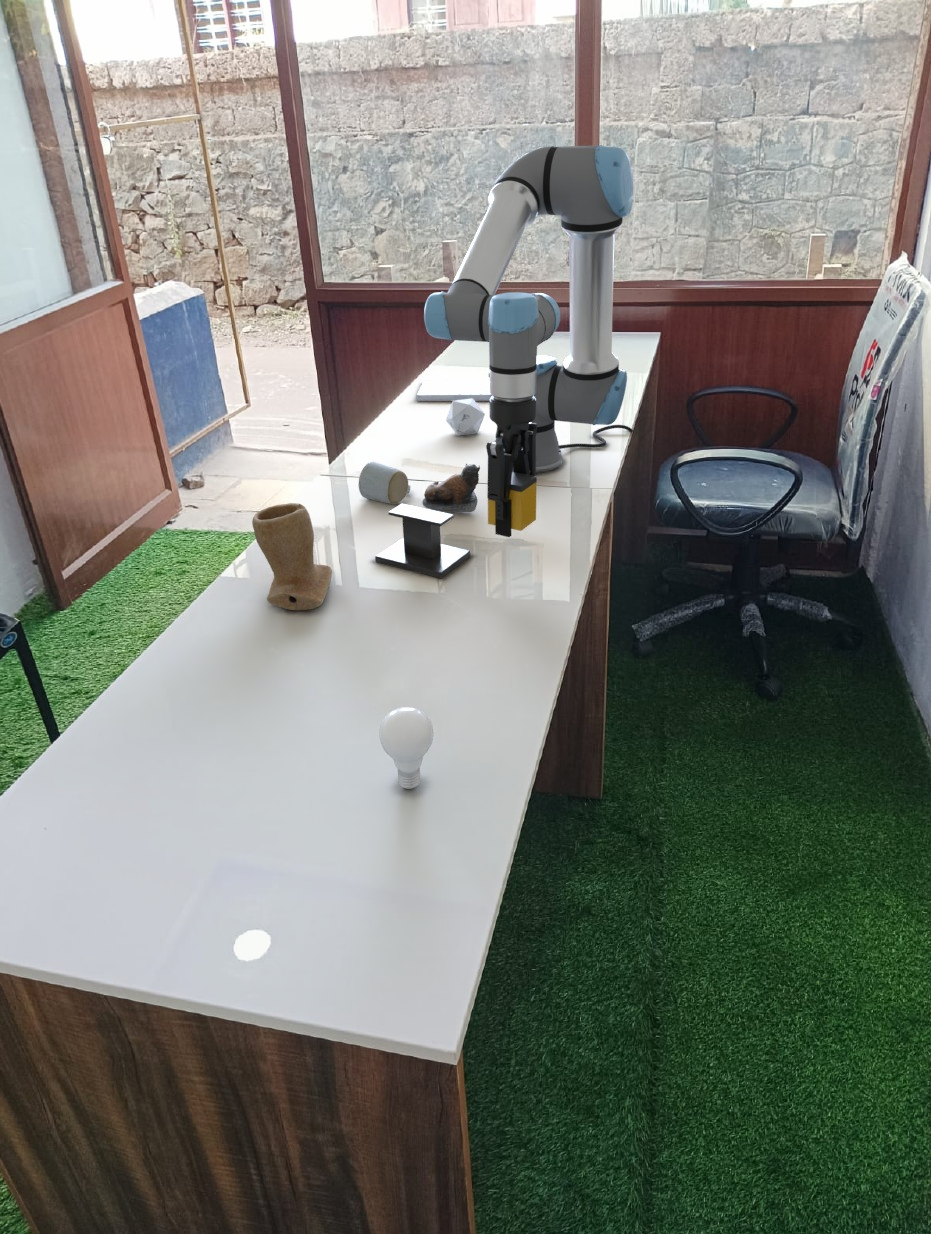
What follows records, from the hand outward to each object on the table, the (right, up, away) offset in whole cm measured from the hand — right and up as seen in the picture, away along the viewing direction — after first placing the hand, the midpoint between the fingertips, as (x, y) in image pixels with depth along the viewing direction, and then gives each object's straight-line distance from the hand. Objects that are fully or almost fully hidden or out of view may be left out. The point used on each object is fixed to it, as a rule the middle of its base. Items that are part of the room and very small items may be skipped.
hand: (511, 528), depth 158 cm
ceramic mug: (-24, +9, +33) cm, 42 cm away
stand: (-16, -5, +7) cm, 18 cm away
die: (-8, +30, +69) cm, 76 cm away
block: (0, +1, -1) cm, 1 cm away
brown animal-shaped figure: (-11, +6, +27) cm, 29 cm away
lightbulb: (-15, -36, -47) cm, 61 cm away
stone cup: (-37, -11, -3) cm, 39 cm away
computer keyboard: (0, +48, +100) cm, 111 cm away
